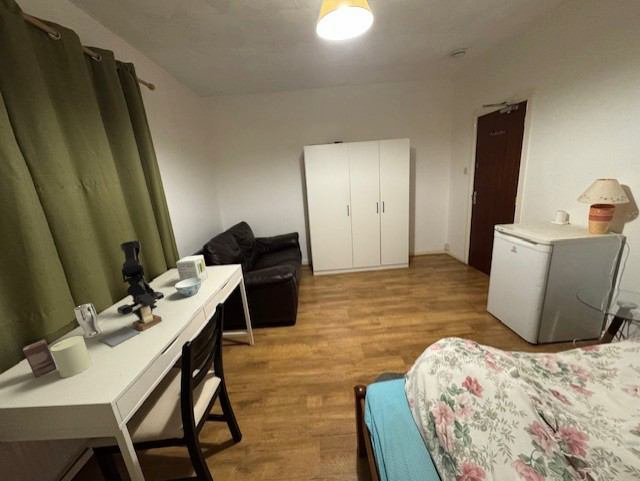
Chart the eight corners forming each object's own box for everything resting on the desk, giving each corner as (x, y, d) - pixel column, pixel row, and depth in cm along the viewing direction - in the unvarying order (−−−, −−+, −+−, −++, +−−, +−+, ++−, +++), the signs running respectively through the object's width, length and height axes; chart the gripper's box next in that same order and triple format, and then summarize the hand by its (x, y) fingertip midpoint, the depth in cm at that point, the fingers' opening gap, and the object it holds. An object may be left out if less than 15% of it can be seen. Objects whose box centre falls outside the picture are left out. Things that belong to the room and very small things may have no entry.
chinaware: (208, 288, 166) (206, 277, 164) (193, 299, 152) (191, 287, 150) (188, 288, 169) (185, 278, 167) (172, 299, 154) (169, 287, 153)
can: (67, 365, 101) (57, 339, 98) (96, 357, 105) (87, 331, 102) (55, 381, 93) (43, 353, 90) (86, 371, 96) (76, 344, 94)
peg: (141, 325, 127) (136, 307, 124) (150, 321, 130) (145, 303, 128) (146, 327, 125) (140, 308, 122) (154, 323, 128) (149, 305, 126)
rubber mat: (99, 340, 118) (98, 338, 117) (125, 327, 127) (125, 326, 127) (113, 347, 111) (113, 345, 111) (140, 333, 120) (140, 331, 120)
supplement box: (199, 284, 174) (194, 260, 170) (181, 286, 175) (175, 262, 171) (208, 277, 187) (203, 254, 183) (191, 278, 188) (185, 256, 184)
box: (56, 364, 103) (45, 338, 100) (57, 369, 100) (46, 342, 97) (34, 373, 98) (22, 346, 96) (34, 378, 96) (22, 351, 93)
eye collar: (133, 327, 126) (132, 322, 125) (152, 318, 133) (151, 313, 133) (143, 331, 121) (141, 326, 121) (162, 321, 129) (160, 316, 128)
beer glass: (81, 341, 118) (70, 312, 115) (86, 333, 124) (76, 306, 121) (100, 335, 121) (90, 307, 118) (104, 328, 127) (95, 301, 124)
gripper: (124, 300, 111) (134, 331, 115) (166, 283, 127) (173, 311, 130) (112, 296, 117) (122, 326, 120) (154, 281, 132) (161, 308, 136)
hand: (146, 318), depth 127 cm, fingers closed on peg, 4 cm apart
